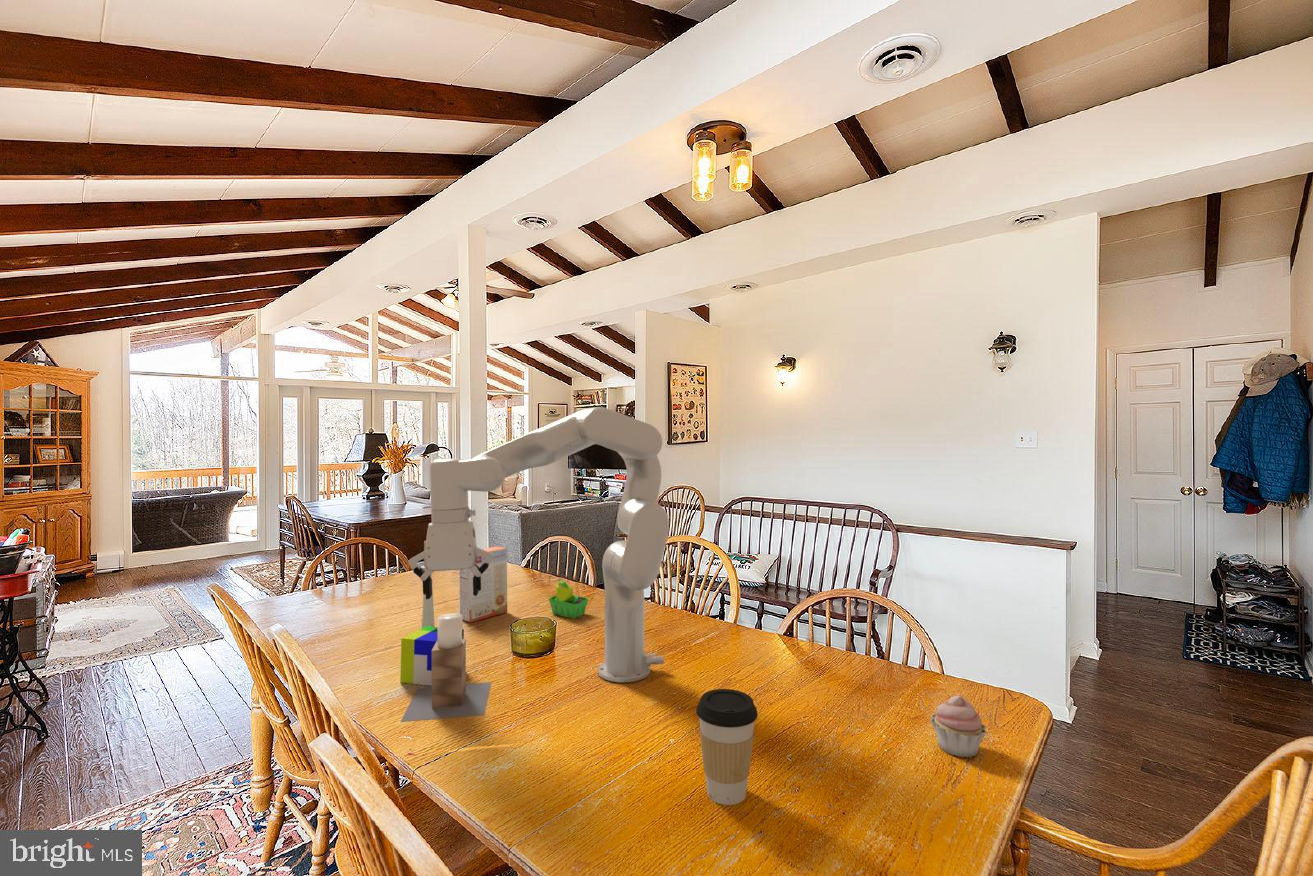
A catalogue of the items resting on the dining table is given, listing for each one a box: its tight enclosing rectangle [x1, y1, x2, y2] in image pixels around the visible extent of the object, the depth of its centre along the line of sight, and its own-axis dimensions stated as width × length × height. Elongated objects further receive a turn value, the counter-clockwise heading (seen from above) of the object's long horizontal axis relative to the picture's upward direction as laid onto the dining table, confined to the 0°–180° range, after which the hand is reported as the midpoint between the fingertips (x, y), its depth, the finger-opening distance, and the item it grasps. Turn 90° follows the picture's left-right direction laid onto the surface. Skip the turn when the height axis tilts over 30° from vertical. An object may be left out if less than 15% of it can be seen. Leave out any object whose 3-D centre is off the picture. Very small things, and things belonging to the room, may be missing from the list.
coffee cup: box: [695, 688, 759, 806], centre depth 94 cm, size 10×10×15 cm
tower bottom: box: [432, 666, 467, 708], centre depth 126 cm, size 6×6×6 cm
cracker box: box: [459, 545, 508, 623], centre depth 185 cm, size 14×6×21 cm, turn 140°
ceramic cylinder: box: [437, 612, 463, 649], centre depth 125 cm, size 5×5×6 cm
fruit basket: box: [548, 580, 589, 619], centre depth 187 cm, size 11×9×11 cm
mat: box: [400, 681, 492, 723], centre depth 126 cm, size 16×16×1 cm
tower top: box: [432, 638, 467, 679], centre depth 126 cm, size 6×6×6 cm
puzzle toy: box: [399, 626, 465, 686], centre depth 138 cm, size 10×10×10 cm
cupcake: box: [930, 695, 988, 759], centre depth 108 cm, size 9×9×10 cm
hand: (452, 595), depth 126 cm, fingers open, 9 cm apart
